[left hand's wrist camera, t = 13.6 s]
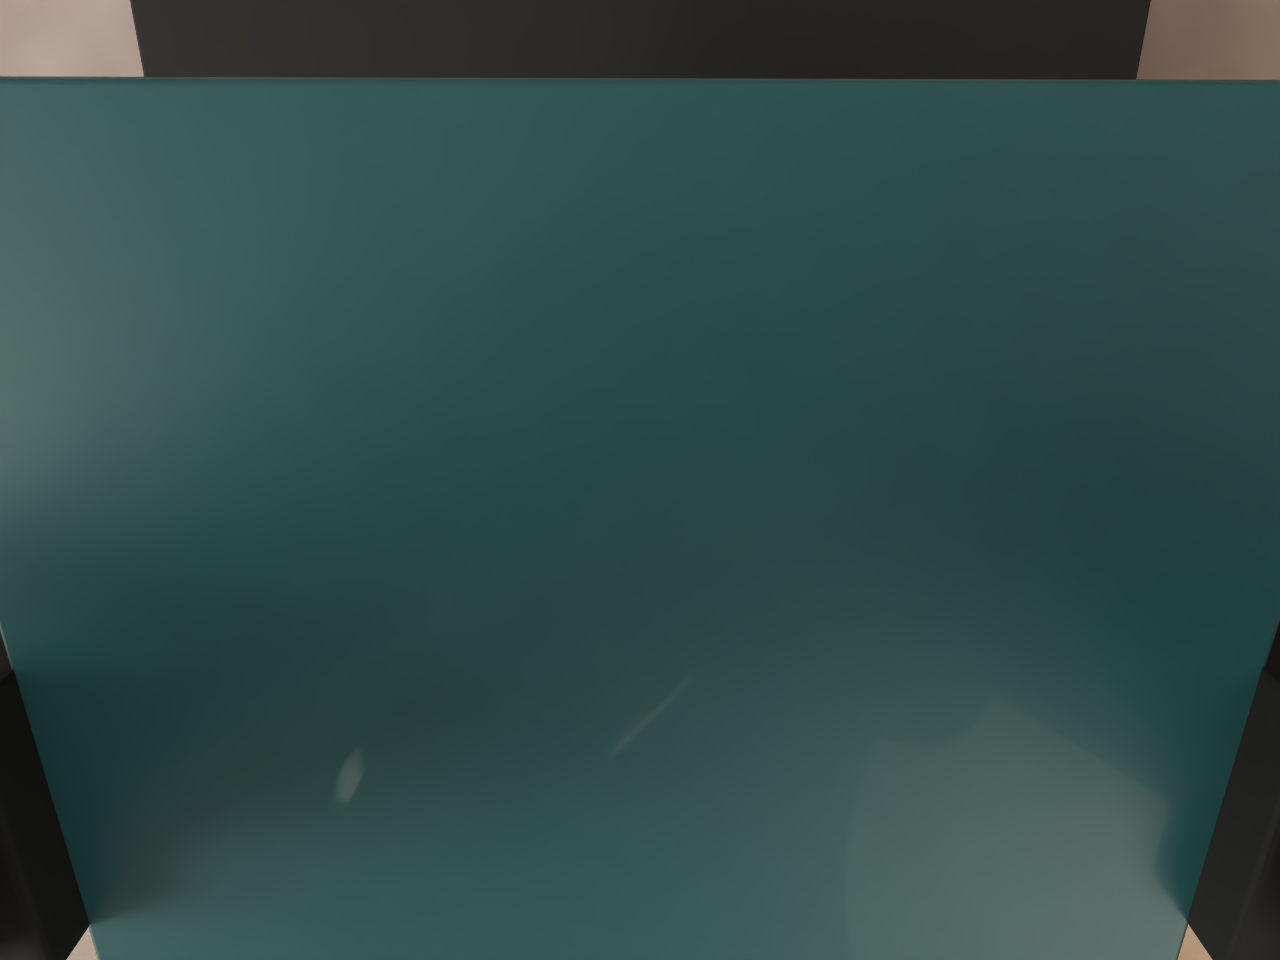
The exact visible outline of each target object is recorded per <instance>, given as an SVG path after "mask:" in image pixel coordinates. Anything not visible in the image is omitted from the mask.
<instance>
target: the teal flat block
mask: <svg viewBox="0 0 1280 960" xmlns="http://www.w3.org/2000/svg"><path fill="white" fill-rule="evenodd" d="M1279 621H1280V80H1054V79H697V78H340V77H0V632H1V635H2V638H3V642H4V645H5V648H6V652H7V655H8V658H9V662H10V665H11V669H13V670H14V673H15V676H16V680H17V683H18V686H19V690H20V693H21V696H22V700H23V703H24V706H25V710H26V713H27V716H28V720H29V723H30V726H31V730H32V733H33V737H34V740H35V743H36V747H37V750H38V753H39V757H40V760H41V763H42V767H43V770H44V773H45V777H46V780H47V783H48V787H49V790H50V793H51V797H52V800H53V803H54V807H55V810H56V813H57V817H58V820H59V823H60V827H61V830H62V834H63V837H64V840H65V844H66V847H67V850H68V854H69V857H70V860H71V864H72V867H73V870H74V874H75V877H76V880H77V884H78V887H79V890H80V894H81V897H82V900H83V904H84V907H85V910H86V914H87V917H88V920H89V924H90V925H89V930H90V934H91V937H92V940H93V944H94V947H95V951H96V954H97V957H98V960H1177V959H1178V956H1179V953H1180V949H1181V946H1182V943H1183V939H1184V936H1185V933H1186V929H1187V926H1188V923H1187V918H1188V915H1189V911H1190V908H1191V905H1192V901H1193V898H1194V895H1195V891H1196V888H1197V885H1198V881H1199V878H1200V875H1201V871H1202V868H1203V865H1204V861H1205V858H1206V854H1207V851H1208V848H1209V844H1210V841H1211V838H1212V834H1213V831H1214V828H1215V824H1216V821H1217V818H1218V814H1219V811H1220V808H1221V804H1222V801H1223V798H1224V794H1225V791H1226V788H1227V784H1228V781H1229V777H1230V774H1231V771H1232V767H1233V764H1234V761H1235V757H1236V754H1237V751H1238V747H1239V744H1240V741H1241V737H1242V734H1243V731H1244V727H1245V724H1246V721H1247V717H1248V714H1249V710H1250V707H1251V704H1252V700H1253V697H1254V694H1255V690H1256V687H1257V684H1258V680H1259V677H1260V674H1261V670H1262V667H1265V666H1266V664H1267V661H1268V658H1269V655H1270V651H1271V648H1272V645H1273V641H1274V638H1275V635H1276V631H1277V628H1278V625H1279Z"/></svg>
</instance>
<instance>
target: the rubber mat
mask: <svg viewBox="0 0 1280 960" xmlns="http://www.w3.org/2000/svg"><path fill="white" fill-rule="evenodd" d="M1150 1H1151V0H130V2H131V8H132V13H133V18H134V24H135V29H136V35H137V40H138V45H139V51H140V56H141V62H142V67H143V72H144V77H340V78H697V79H1054V80H1136V77H1137V71H1138V66H1139V61H1140V55H1141V50H1142V44H1143V39H1144V34H1145V28H1146V23H1147V17H1148V12H1149V7H1150Z"/></svg>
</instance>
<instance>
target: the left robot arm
mask: <svg viewBox="0 0 1280 960" xmlns="http://www.w3.org/2000/svg"><path fill="white" fill-rule="evenodd" d="M1187 923H1188V924H1189V925H1190V927H1191V928H1192V930H1193V931H1194V933H1195V934H1196V936H1197V937H1198V939H1199V940H1200V942H1201V943H1202V945H1203V946H1204V948H1205V949H1206V951H1207V952H1208V953H1209V955H1210V956H1211V958H1212V959H1213V960H1280V621H1279V625H1278V628H1277V631H1276V635H1275V638H1274V641H1273V645H1272V648H1271V651H1270V655H1269V658H1268V661H1267V664H1266V666H1265V667H1262V670H1261V674H1260V677H1259V680H1258V684H1257V687H1256V690H1255V694H1254V697H1253V700H1252V704H1251V707H1250V710H1249V714H1248V717H1247V721H1246V724H1245V727H1244V731H1243V734H1242V737H1241V741H1240V744H1239V747H1238V751H1237V754H1236V757H1235V761H1234V764H1233V767H1232V771H1231V774H1230V777H1229V781H1228V784H1227V788H1226V791H1225V794H1224V798H1223V801H1222V804H1221V808H1220V811H1219V814H1218V818H1217V821H1216V824H1215V828H1214V831H1213V834H1212V838H1211V841H1210V844H1209V848H1208V851H1207V854H1206V858H1205V861H1204V865H1203V868H1202V871H1201V875H1200V878H1199V881H1198V885H1197V888H1196V891H1195V895H1194V898H1193V901H1192V905H1191V908H1190V911H1189V915H1188V918H1187ZM89 925H90V924H89V920H88V917H87V914H86V910H85V907H84V904H83V900H82V897H81V894H80V890H79V887H78V884H77V880H76V877H75V874H74V870H73V867H72V864H71V860H70V857H69V854H68V850H67V847H66V844H65V840H64V837H63V834H62V830H61V827H60V823H59V820H58V817H57V813H56V810H55V807H54V803H53V800H52V797H51V793H50V790H49V787H48V783H47V780H46V777H45V773H44V770H43V767H42V763H41V760H40V757H39V753H38V750H37V747H36V743H35V740H34V737H33V733H32V730H31V726H30V723H29V720H28V716H27V713H26V710H25V706H24V703H23V700H22V696H21V693H20V690H19V686H18V683H17V680H16V676H15V673H14V670H13V669H11V665H10V662H9V658H8V655H7V652H6V648H5V645H4V642H3V638H2V635H1V632H0V960H66V959H67V958H68V956H69V955H70V953H71V952H72V950H73V949H74V947H75V946H76V945H77V943H78V942H79V940H80V939H81V937H82V936H83V934H84V933H85V931H86V930H87V928H88V927H89Z"/></svg>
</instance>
